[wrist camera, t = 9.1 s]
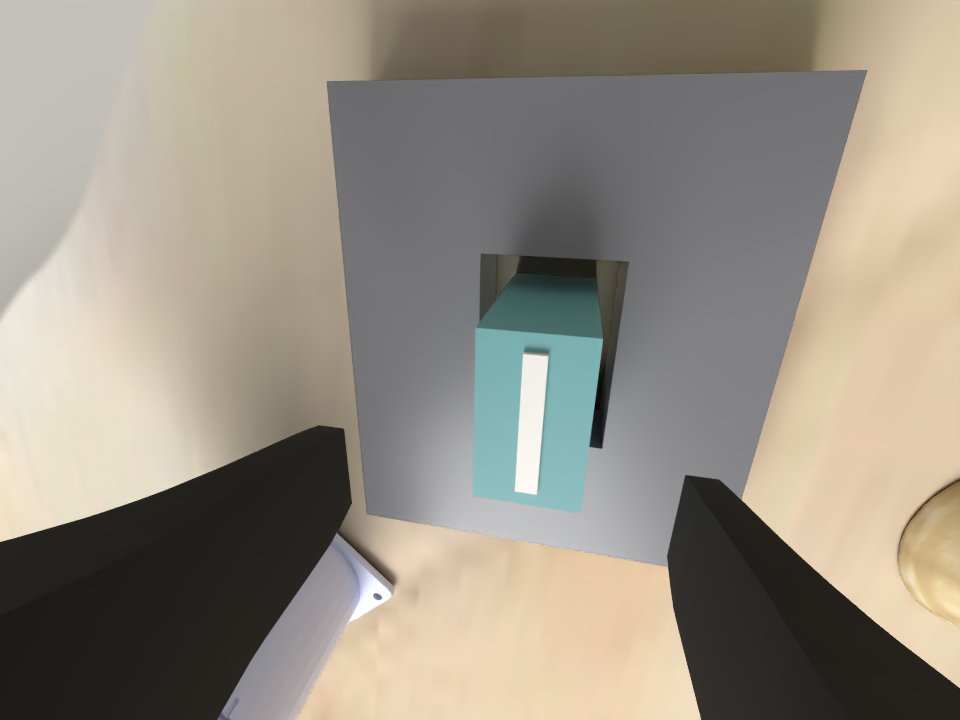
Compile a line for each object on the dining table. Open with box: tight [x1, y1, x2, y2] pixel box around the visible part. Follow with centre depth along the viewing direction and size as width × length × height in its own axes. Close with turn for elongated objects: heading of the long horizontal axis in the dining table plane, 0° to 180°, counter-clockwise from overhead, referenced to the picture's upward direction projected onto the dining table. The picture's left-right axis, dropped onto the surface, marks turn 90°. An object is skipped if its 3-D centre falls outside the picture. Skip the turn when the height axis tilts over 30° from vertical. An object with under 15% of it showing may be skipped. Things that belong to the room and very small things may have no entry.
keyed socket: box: [327, 70, 867, 567], centre depth 16 cm, size 16×14×3 cm
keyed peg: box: [473, 273, 603, 513], centre depth 15 cm, size 5×3×7 cm, turn 179°
